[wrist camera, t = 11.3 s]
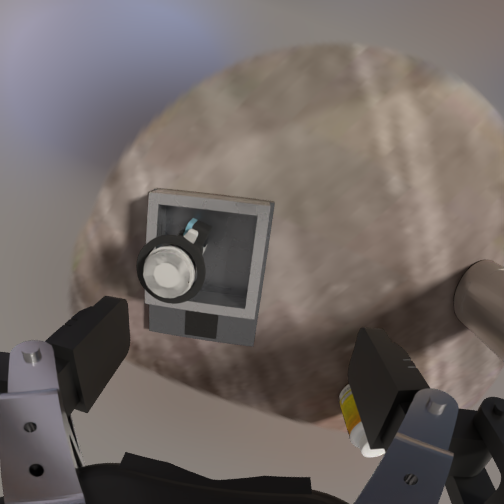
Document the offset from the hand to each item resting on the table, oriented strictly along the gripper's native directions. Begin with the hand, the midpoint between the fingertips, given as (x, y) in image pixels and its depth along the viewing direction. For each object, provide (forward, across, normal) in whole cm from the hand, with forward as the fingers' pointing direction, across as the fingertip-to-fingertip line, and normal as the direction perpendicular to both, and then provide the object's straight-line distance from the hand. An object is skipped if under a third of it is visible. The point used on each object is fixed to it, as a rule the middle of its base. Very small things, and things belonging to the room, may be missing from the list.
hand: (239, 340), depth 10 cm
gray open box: (+23, +5, +6) cm, 24 cm away
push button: (+22, +6, +3) cm, 23 cm away
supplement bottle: (+24, -16, +21) cm, 35 cm away
